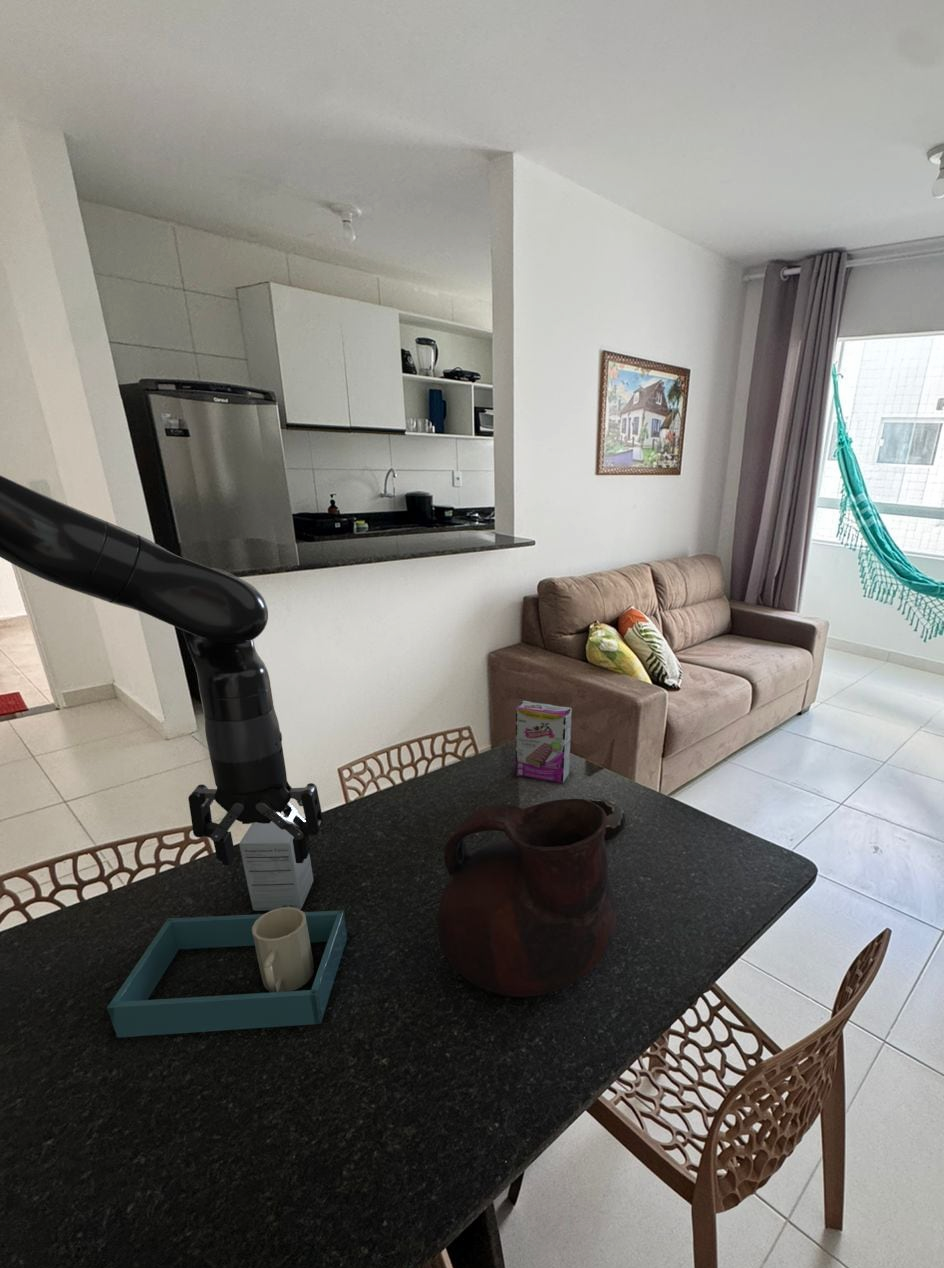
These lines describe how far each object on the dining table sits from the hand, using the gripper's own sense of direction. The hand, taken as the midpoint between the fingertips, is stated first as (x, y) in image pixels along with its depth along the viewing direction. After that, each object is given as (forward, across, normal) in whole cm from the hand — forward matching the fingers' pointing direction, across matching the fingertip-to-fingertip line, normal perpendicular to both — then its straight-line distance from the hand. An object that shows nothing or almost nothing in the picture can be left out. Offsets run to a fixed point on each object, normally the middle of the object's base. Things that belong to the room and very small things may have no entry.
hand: (265, 860), depth 83 cm
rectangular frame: (+19, -5, -1) cm, 19 cm away
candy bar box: (+18, +38, +54) cm, 69 cm away
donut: (+18, +47, +34) cm, 61 cm away
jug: (+18, +33, +1) cm, 38 cm away
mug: (+19, 0, -2) cm, 19 cm away
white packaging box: (+19, -5, +17) cm, 26 cm away
